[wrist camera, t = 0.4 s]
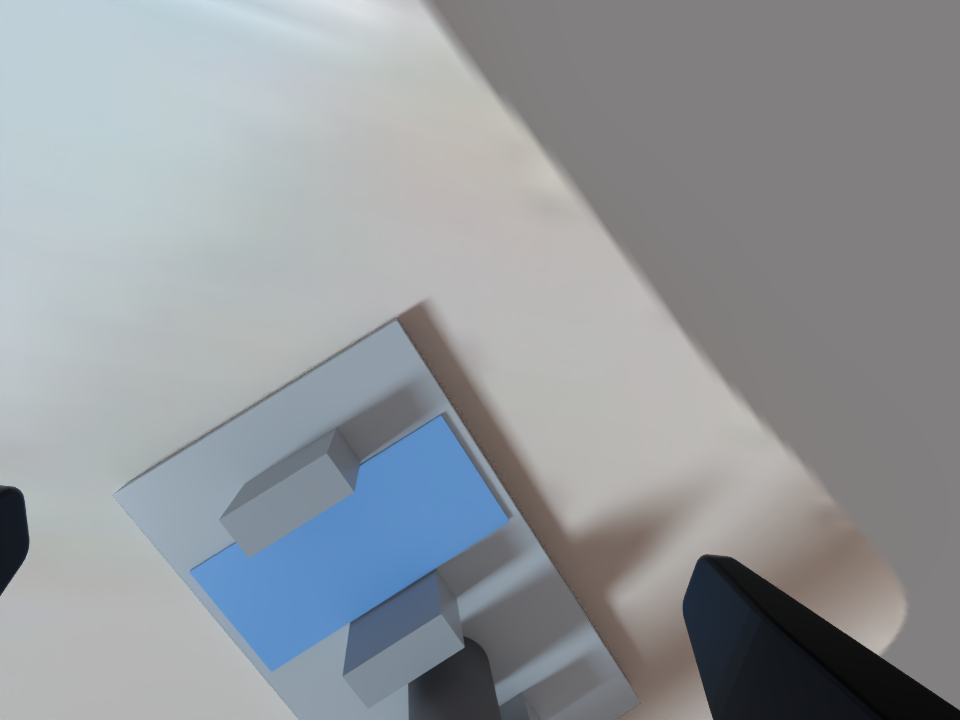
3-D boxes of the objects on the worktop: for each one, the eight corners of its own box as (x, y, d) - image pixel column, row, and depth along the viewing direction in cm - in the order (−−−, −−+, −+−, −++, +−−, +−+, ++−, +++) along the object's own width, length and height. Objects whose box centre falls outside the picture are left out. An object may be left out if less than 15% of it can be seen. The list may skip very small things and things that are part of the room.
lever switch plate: (409, 830, 25) (411, 932, 22) (125, 484, 21) (62, 534, 17) (631, 686, 26) (672, 762, 22) (396, 317, 21) (395, 329, 18)
